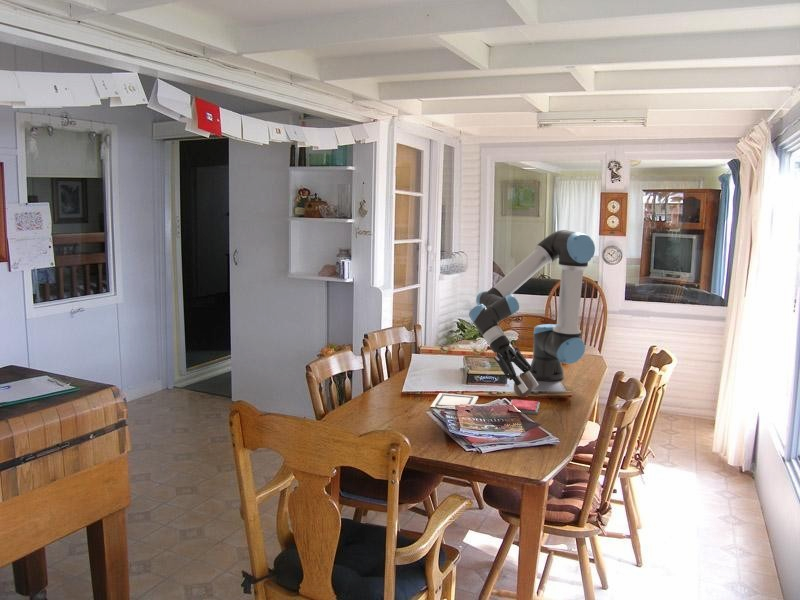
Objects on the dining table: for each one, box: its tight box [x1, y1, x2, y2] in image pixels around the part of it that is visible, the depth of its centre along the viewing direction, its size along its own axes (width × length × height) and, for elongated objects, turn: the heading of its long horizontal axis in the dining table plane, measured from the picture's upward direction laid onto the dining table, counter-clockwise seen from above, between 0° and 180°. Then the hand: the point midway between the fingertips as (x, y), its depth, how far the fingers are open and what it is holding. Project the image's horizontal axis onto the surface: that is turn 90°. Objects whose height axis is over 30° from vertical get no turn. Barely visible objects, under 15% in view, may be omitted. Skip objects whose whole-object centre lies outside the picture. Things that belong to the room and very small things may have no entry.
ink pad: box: [510, 398, 541, 415], centre depth 264 cm, size 11×11×1 cm
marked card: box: [429, 392, 479, 408], centre depth 270 cm, size 16×16×1 cm
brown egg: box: [513, 372, 533, 398], centre depth 262 cm, size 7×7×9 cm
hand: (530, 388), depth 260 cm, fingers closed on brown egg, 7 cm apart
